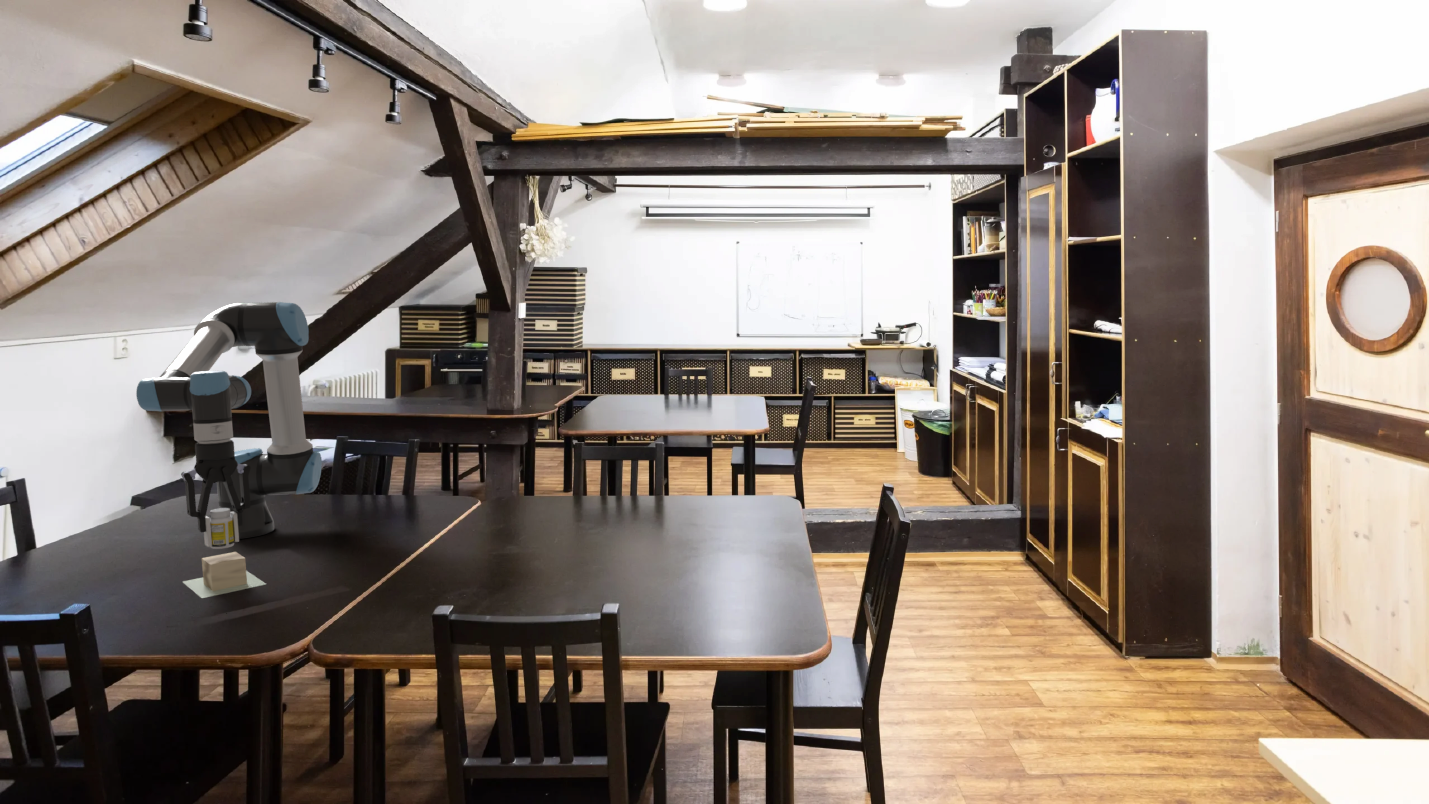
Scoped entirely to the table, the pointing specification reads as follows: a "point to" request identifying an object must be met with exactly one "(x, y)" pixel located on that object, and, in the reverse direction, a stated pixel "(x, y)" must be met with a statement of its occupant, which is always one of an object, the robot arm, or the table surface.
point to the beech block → (224, 571)
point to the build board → (204, 591)
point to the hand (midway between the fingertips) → (222, 542)
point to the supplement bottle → (221, 528)
